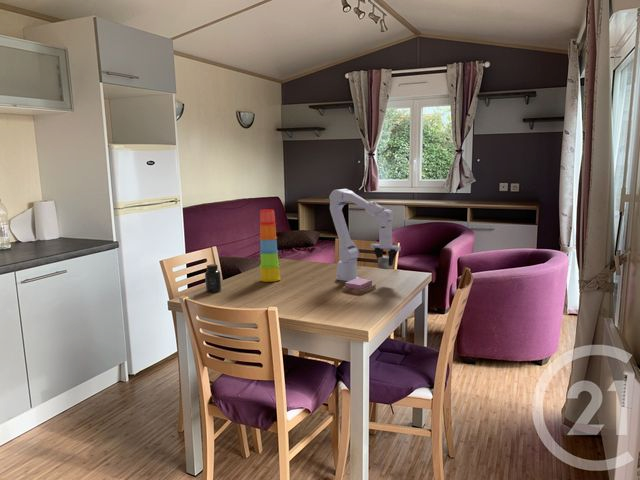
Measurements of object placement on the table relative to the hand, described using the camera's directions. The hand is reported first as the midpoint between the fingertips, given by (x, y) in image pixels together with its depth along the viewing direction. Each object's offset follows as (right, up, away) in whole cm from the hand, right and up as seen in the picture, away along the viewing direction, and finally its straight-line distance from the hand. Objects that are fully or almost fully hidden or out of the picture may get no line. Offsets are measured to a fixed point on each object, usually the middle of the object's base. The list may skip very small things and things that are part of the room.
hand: (385, 264), depth 225 cm
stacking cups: (-55, -8, +15) cm, 57 cm away
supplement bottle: (-79, -12, -3) cm, 80 cm away
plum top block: (-13, -9, -7) cm, 17 cm away
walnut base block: (-13, -12, -6) cm, 18 cm away
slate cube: (0, -1, 0) cm, 1 cm away
